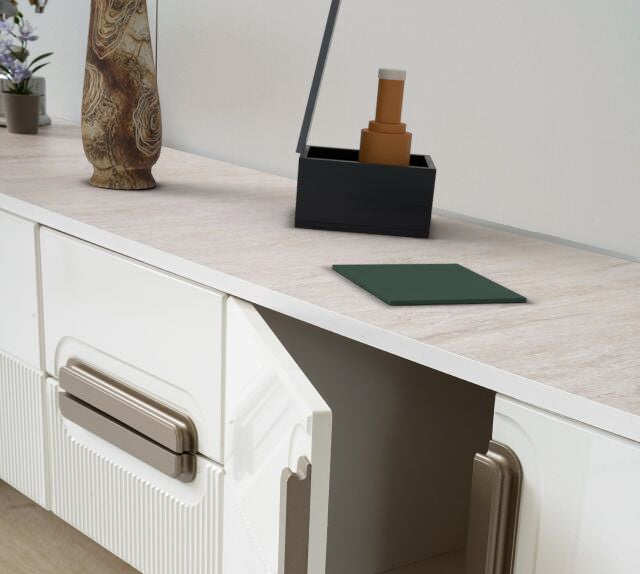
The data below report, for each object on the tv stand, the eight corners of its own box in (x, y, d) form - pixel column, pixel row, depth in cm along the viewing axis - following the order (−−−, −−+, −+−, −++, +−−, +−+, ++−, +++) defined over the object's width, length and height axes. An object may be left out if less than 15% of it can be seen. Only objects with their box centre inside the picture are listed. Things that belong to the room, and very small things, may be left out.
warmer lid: (341, 0, 132) (334, -2, 132) (340, 0, 120) (332, -3, 120) (307, 141, 138) (300, 139, 138) (302, 154, 126) (295, 152, 126)
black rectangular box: (423, 219, 141) (430, 155, 138) (428, 238, 130) (436, 169, 127) (299, 208, 141) (303, 144, 138) (294, 227, 130) (298, 157, 127)
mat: (456, 267, 116) (457, 263, 116) (526, 302, 105) (527, 297, 104) (331, 268, 111) (332, 264, 111) (390, 305, 100) (390, 300, 99)
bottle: (390, 213, 139) (405, 69, 132) (411, 222, 134) (427, 73, 127) (346, 212, 137) (358, 66, 130) (365, 222, 132) (379, 70, 125)
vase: (170, 191, 146) (175, -65, 134) (88, 190, 142) (86, -73, 130) (149, 178, 154) (153, -63, 143) (71, 177, 150) (68, -72, 139)
